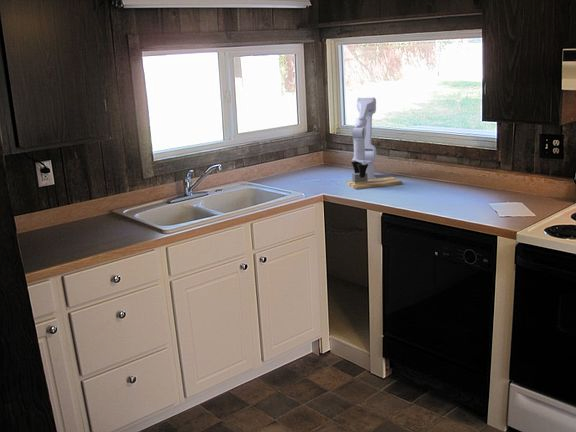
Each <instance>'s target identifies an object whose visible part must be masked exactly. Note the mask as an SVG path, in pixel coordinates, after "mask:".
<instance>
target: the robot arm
mask: <svg viewBox="0 0 576 432" xmlns="http://www.w3.org/2000/svg"><path fill="white" fill-rule="evenodd" d="M356 108H357V110H358V113H359V114H358V117H357V118H356V119H355V123H354V128H352V131H351V135H352V142H353V157H352V159H351V162H350V163H351V165H352V168H353V171H354V173H360V178H363V177H365V173H367V177H368V179H373V178H378V177H377V176H375V166H374V165H375V163H374V162H376V161H377V157H378V156H377V155H378V153H377V148H376V147H377V146H375V145H373V144H372V133H373V132H372V130H373V127H372V126H373V124H372V123H373V122H372V121H373V114H376V111H377V99H376V98H375V97H357V99H356Z"/></svg>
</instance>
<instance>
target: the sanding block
mask: <svg viewBox="0 0 576 432" xmlns="http://www.w3.org/2000/svg"><path fill="white" fill-rule="evenodd" d="M351 175H352V176H351V177H352V178H351V179H352V180H351V181H352V183H354V184H362V183H368V177H367V173H365V177H363V178H360V173H355V172H354V173H352V174H351Z"/></svg>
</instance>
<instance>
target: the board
mask: <svg viewBox="0 0 576 432" xmlns="http://www.w3.org/2000/svg"><path fill="white" fill-rule="evenodd" d="M346 184H347V186H349V187H351V188H352V189H355V190H363V189H372V188H381V187H391V186H399V185H403V181H402V180H400V179H397V178H396V177H393V176H385V177H377V178H371V179H368V183H362V184H354V183H352V180H347V181H346Z"/></svg>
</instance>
